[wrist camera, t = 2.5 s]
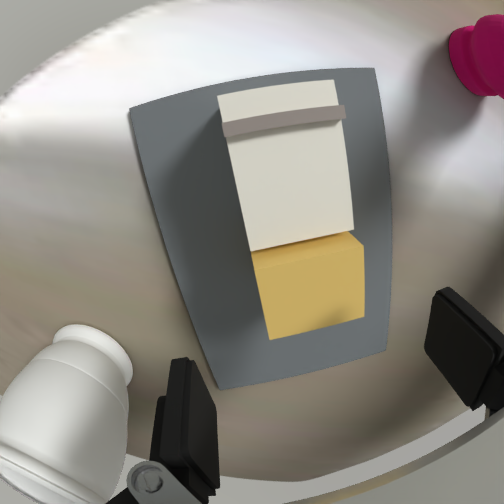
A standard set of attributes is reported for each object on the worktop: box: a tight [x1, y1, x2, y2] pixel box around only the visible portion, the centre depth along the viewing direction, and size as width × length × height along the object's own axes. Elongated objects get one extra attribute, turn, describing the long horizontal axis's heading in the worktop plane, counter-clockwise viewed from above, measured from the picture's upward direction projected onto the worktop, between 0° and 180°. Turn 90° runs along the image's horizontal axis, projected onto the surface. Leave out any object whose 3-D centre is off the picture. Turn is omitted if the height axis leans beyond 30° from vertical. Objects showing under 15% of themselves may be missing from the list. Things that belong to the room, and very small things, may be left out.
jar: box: [0, 324, 133, 504], centre depth 17 cm, size 11×10×15 cm
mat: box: [129, 68, 392, 390], centre depth 21 cm, size 16×24×1 cm, turn 11°
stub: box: [251, 231, 365, 340], centre depth 17 cm, size 5×4×7 cm
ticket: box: [217, 80, 354, 251], centre depth 15 cm, size 5×7×6 cm
